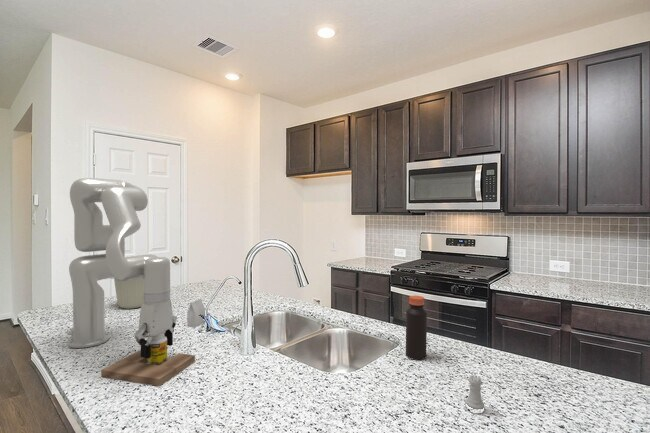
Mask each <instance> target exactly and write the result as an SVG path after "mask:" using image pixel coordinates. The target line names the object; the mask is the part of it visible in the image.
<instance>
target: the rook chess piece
mask: <svg viewBox="0 0 650 433" xmlns="http://www.w3.org/2000/svg"><path fill="white" fill-rule="evenodd" d="M468 382H469V384H470V385H468V386H469V395H468V396H467V399H466V400H465V405H466V404H467V405H468V406H469V407H471V408H473V409H483V408H484V409H485V403H484V402H483V399H482V393H481V391H482V387H481V386H482V384H483V381H482V378H481V377H480V376H478V375H476V374H475V375H470V376H469V378H468Z"/></svg>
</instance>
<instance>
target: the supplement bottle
mask: <svg viewBox="0 0 650 433" xmlns="http://www.w3.org/2000/svg"><path fill="white" fill-rule="evenodd" d="M164 332H165V331H164ZM164 332H162V333H160V334H158V335H156V336H154V337H152V339H151V341H150V343H149V344H150V345H151V357H150V358H148V363H147V364H153V365H161V364H162V363H164V362H165V361H167V360H168V345H167V337H166V336H164V335H165V334H164Z"/></svg>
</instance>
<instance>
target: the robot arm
mask: <svg viewBox="0 0 650 433" xmlns="http://www.w3.org/2000/svg"><path fill="white" fill-rule="evenodd" d="M72 182H73V183H72V184H71V186H70V188H69V199H70V204H71V206H72V210H73V214H74V216H73V217H74V220H73V222H74V228H73V230H74V231H73V232H74V238H73V239H74V246H75V248H76V250H77V251H79V252H81V253H93V252H101V251H105V253H99V254H89V255H83V256H79V257H76V258H74V259H73V260H71V261H70V264H69V266H68V272H69V277H70V281H71V287H72V288H71V289H72V324H73V325H72V328H71V329H70V330H69V331H67V332H66V334H67V336H71V339H69V340H68V341H67V345H68V347H70V348H73V349H83V348H84V349H85V348H92V347H94V346H95V347H96V346H99V345H101V344H104V343H106V342H107V341H109V340H110V335H111V334H110V333H108V332H106V330H105V329H106V328H105V326H106V325H105V324H106V321H105V314H106V313H105V310H106V309H105V308H106V307H105V291H104V289H103V287H102V286H101V285H100V284H99V283H98V281H101V280H107V279H114V278H115V279H116V280H117V281H120V282H126V281H132V280H137V279H143V280H144V303H143V304H142V306H141V307H140V311H139V318H138V319H139V321H138V330H137V331H136V332H135V333H134V335H133V336H134V338H135V341H136V342H137V343H138V345H140V350H141V357H142V358H150V357H151V345H150V344H149V343H150V341H151V339H152V337H154V336H156V335H158V334H160V333H162V332H164V334H165V335H164V336H166V337H167V346H173V345H174V343H173V342H174V337H173V336H174V335H173V334H174V332H175V327H176V323H177V319H178V316H177V315H174V314H173V306H172V305H173V304H172V300H171V261H170V259H169V258H168V257H166V256H165V257H164V256H156V255H155V254H141V255H140V254H139V255H132V256H131V255H130V256H125V253H126V252H125V249H126V248H125V245H126V244H125V243H126V242H125V238H127V237H129V236H131V235H134V234H135V233H137V232H138V231H139V230H140V229H141V225H142V224H141V221H140V219H139V216H138V214H137V212H141V211H144V210H145V209H146V208H147V206H148V203H149V200H148V196H147V194H146V191H144V190H143V189H142V188H141V187H140V186H137V185H134V184H132V183H129V182H127V181H126V180H119V179H118V180H117V179H106V178H98V177H87V178H84V177H83V178H79V179H76V180H74V181H72ZM96 203H101V204H102V207H103V210H104V212H105V215H106V217H107V220H108V223H109V224H105V225H104V223H103V222H104V221H103V220H104V219H103V218H104V217H103V212H102V210H101V209H100V207H99V206H98V205H97V204H96Z"/></svg>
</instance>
